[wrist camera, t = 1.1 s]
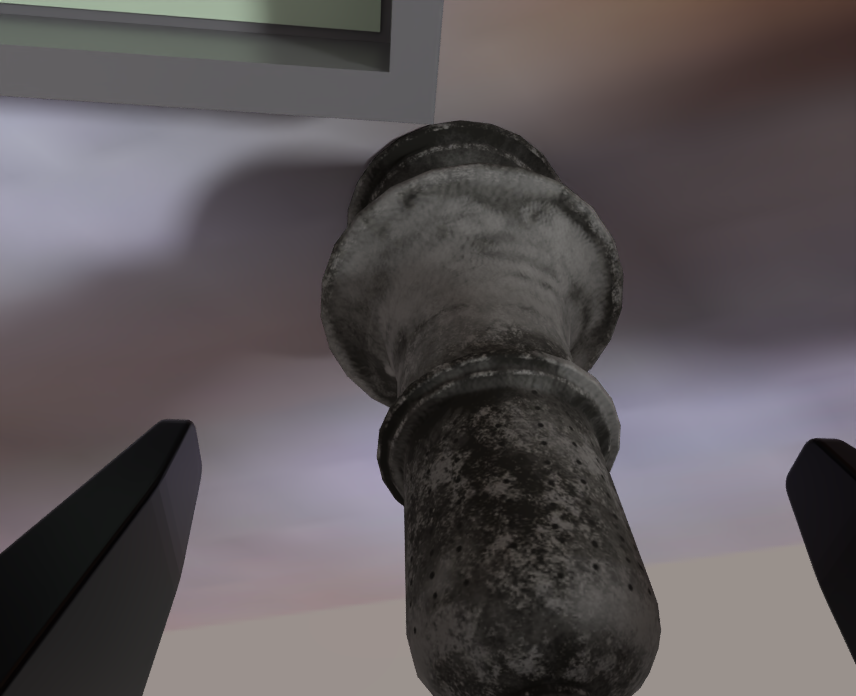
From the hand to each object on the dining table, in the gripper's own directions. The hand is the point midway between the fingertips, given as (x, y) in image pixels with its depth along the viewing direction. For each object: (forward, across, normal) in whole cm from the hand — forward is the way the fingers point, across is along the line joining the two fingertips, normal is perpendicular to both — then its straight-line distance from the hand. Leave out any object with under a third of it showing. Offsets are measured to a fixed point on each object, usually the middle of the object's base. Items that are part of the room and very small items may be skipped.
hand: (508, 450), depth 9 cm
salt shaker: (+8, 0, 0) cm, 8 cm away
